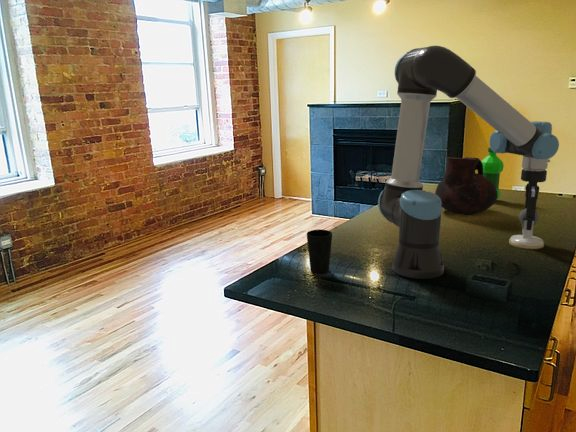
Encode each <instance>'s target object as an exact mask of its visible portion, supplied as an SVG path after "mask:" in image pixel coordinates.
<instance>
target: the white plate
mask: <svg viewBox="0 0 576 432" xmlns="http://www.w3.org/2000/svg"><path fill="white" fill-rule="evenodd" d="M508 243H509V245H510V246H513V247H516V248H518V249H525V250H540V249H543V248H544V247H545V242H544V239H543V238H541V237H538V236H536V235H535V236H534V235H532V239H523V234H514V235H511V236H510V238H509V240H508Z"/></svg>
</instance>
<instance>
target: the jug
mask: <svg viewBox="0 0 576 432" xmlns="http://www.w3.org/2000/svg"><path fill="white" fill-rule="evenodd" d="M445 158H446V159H445V160H446V167H445V171H444V175H443V179H441V181H440V182H439V183H437V186H436V188H435V192H434V194H436V195H438V196H439V197H440V199H441V207H442V209H444V210H445V211H448V212H449V213H452V214H455V215H462V216H474V215H478V214H480V213H481V214H482V213H484V212H485V211H488V209H490V208H491V207H492V206H494V204H495V203H496V201H497V196H498V193H497V189H496V187H495V185H494V184H493V182H492V181H490V180H489V179H487V178H486V177H484V176H483V164H482V162H481V161H482V160H481V159H480V158H479V157H468V156H467V157H449V156H446V157H445ZM476 171H477V173H476Z"/></svg>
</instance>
